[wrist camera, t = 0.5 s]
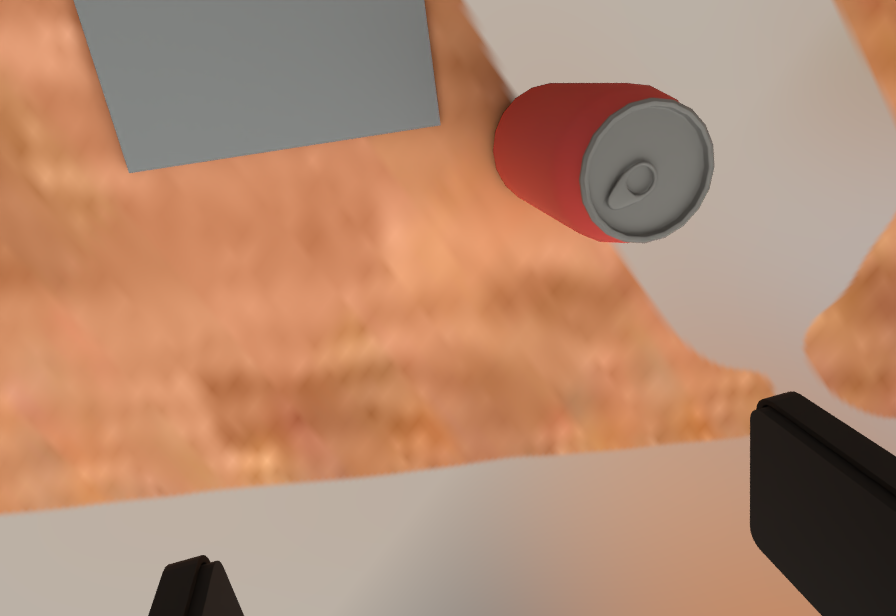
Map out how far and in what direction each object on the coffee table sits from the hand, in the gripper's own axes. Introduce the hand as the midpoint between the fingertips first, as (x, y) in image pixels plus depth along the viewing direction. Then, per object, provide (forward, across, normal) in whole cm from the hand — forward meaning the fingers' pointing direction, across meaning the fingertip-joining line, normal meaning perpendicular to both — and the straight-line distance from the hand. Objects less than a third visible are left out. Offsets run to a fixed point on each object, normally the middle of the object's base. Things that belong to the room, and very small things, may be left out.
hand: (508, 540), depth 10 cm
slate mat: (+26, +3, -13) cm, 29 cm away
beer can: (+26, -10, -2) cm, 28 cm away
